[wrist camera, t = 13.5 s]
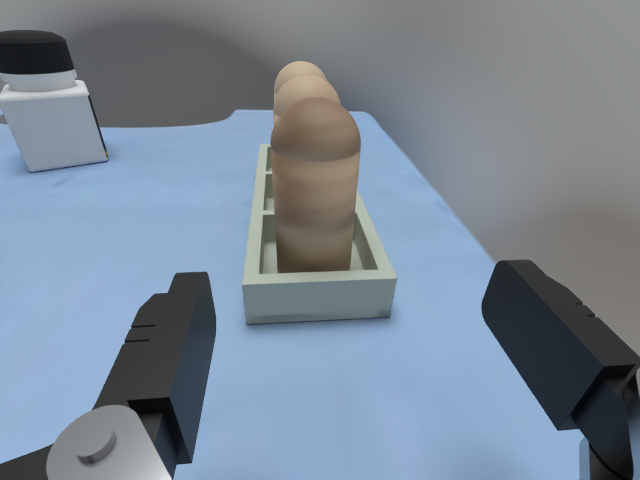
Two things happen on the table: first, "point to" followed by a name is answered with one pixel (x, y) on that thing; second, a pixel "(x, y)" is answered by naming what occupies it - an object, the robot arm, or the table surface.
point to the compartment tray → (310, 287)
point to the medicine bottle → (47, 102)
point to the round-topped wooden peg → (314, 186)
